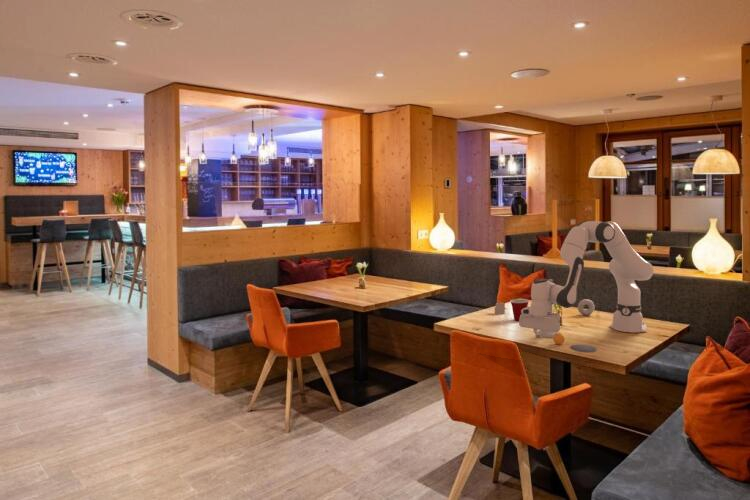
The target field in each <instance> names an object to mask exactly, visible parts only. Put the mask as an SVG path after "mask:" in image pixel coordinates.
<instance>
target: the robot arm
mask: <svg viewBox="0 0 750 500" xmlns="http://www.w3.org/2000/svg"><path fill="white" fill-rule="evenodd" d="M589 243H601V244H603V245H604V246H605V248H606V251H608V254H609V255H610V257H611V258H612V259H611V260H610V262H609V265H608V269H609V272H610V273H611V274H612V275H613V277H614V280H615V283H616V286H617V302H616V310H615V311H614V312H613V315H612V323H611V324H609V326H608V327H609V328H610V329H614V330H615V331H619V332H624V333H647V332H648V331H647V324H646V323H644V321H643V318H644V317H643V314H642V312H641V311H642V305H641V304H642V303H641V293H642V292H641V289H640V288H639V286H638V285H637V283H636V282H635V281H648V280H650V279H651V278H652V276H653V275H654V267H653V264H652V263H650V262H648V261H647V260H645V258H643V257H642V256H641V255H640V254H639V253H638V252H637V251H636V250H635V249H634V248H633V247H632V246H631V244H630V242H629V240H628V238H627V236H626V234H625V233H624V232H623V230H622V229H621V227H620V226H619V225H618V224H617V223H616V222H614V221H599V220H591V221H589V220H588V221H587V220H584V221H580V222H579V223H577V225H576V226H573V227H572V228H571V229H570V230H569V232H568V234H567V235H566V236H565V239H564V241H563V243H562V245H561V248H560V252H559V253H560V254H559V255H560V257H561V260H562V261H563V262H564V263H565V264H566V265H568V266H569V273H568V277H567V280H566V283H565V285H564V286H562V285H559V284H556V283H554V282H553V283H551V282H549V279H547V278H536V279H535V280H533V281H532V284H531V289H530V298H531V302H530V306H527V307H526V308H524V309H522V310H521V313H522V314H521V315H520V319H519V321H518V325H519V327H521V328H526V329H532V330H533V333H534V334H535V338H536V339H541V340H542V339H543V337H542V335H543V333H544V332H545V331H551V332H558V331H559V332H560V331H561V315H559V314H558V313H556V312H552V313H550V312H549V303H552V305H557V306H560V307H563V308H564V309H569V308H571V307H573V306H575V303H576V302H577V300H578V290H579V287H580V283H581V279H582V275H583V272H584V266H585V262H584V261H585V260H583V259H584V253H585V251H586V248H587V245H588V244H589ZM539 330H541V332H542V333H541V334H538V332H537V331H539Z"/></svg>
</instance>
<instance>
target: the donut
mask: <svg viewBox="0 0 750 500" xmlns="http://www.w3.org/2000/svg"><path fill="white" fill-rule="evenodd" d="M585 306H588V308H587V309H584V307H585ZM595 308H596V307H595V304H594V302H593V301H592V300H590V299H588V298H587V299H586V298H584V299H582V300H580V301H579V302H578V304H577V311H578V313H579V314H581V315H582V316H590V315H592V314H593V313H594V311H595V310H596V309H595Z"/></svg>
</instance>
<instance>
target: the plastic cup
mask: <svg viewBox="0 0 750 500" xmlns="http://www.w3.org/2000/svg"><path fill="white" fill-rule="evenodd" d="M509 302H510V304H511V307H512V308H511V309H512V314H513V319H514V321H516V322H519V319H520V315H521V314H522V313H521V310H522V309H524V308H526V307H529V306H528V305H529V302H530V300H529V299H523V298H517V299H516V298H515V299H510V301H509Z"/></svg>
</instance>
